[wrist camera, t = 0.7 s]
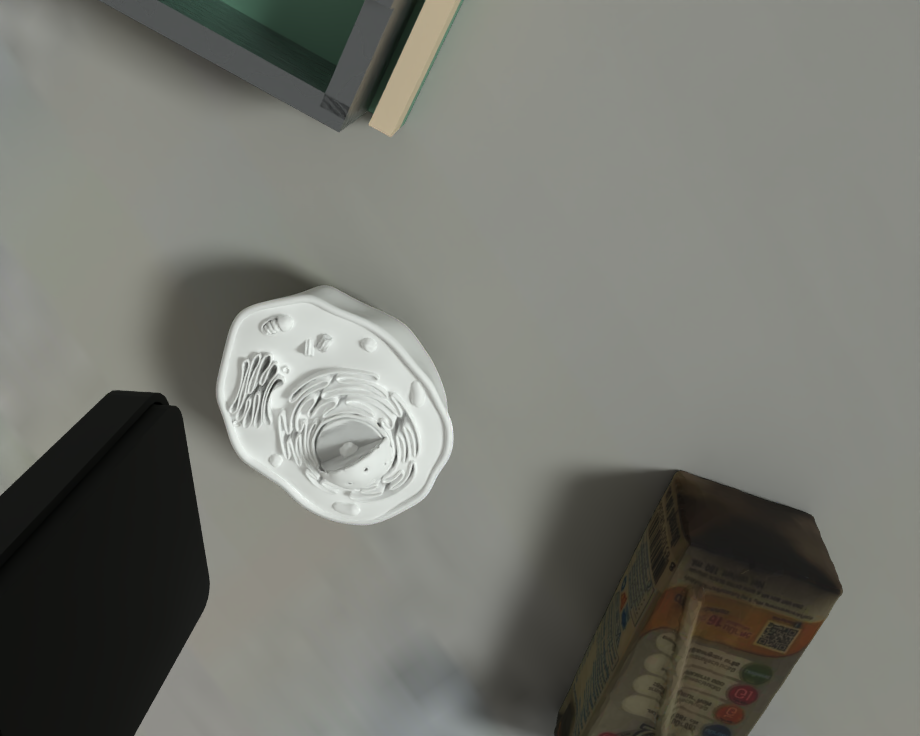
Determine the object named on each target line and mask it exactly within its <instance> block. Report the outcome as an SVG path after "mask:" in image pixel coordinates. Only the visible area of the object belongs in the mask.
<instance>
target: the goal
mask: <svg viewBox="0 0 920 736" xmlns="http://www.w3.org/2000/svg"><path fill="white" fill-rule="evenodd" d="M99 1H101V2H103V3H105V4H107V5H108V6H110V7H112V8H114V9H116V10H118V11H119V12H121V13H123V14H125V15H127V16H128V17H130V18H132V19H134V20H136V21H138V22H139V23H141V24H143V25H145V26H147V27H148V28H150V29H152V30H154V31H156V32H158V33H159V34H161V35H163V36H165V37H167V38H168V39H170V40H172V41H174V42H176V43H178V44H179V45H181V46H183V47H185V48H187V49H188V50H190V51H192V52H194V53H196V54H198V55H199V56H201V57H203V58H205V59H207V60H208V61H210V62H212V63H214V64H216V65H218V66H219V67H221V68H223V69H225V70H227V71H228V72H230V73H232V74H234V75H236V76H238V77H239V78H241V79H243V80H245V81H247V82H248V83H250V84H252V85H254V86H256V87H258V88H259V89H261V90H263V91H265V92H267V93H268V94H270V95H272V96H274V97H276V98H278V99H279V100H281V101H283V102H285V103H287V104H288V105H290V106H292V107H294V108H296V109H298V110H299V111H301V112H303V113H305V114H307V115H308V116H310V117H312V118H314V119H316V120H318V121H319V122H321V123H323V124H325V125H327V126H328V127H330V128H332V129H334V130H336V131H338V132H340V131H341V130H343V129H344V128H345V127H347V126H348V125H349V124H351V123H352V122H353V121H355V120H356V119H357V118H359V117H360V116H361V115H363V114H364V113H365V112H367V111H368V109H369V107H370V105H371V102H372V100H373V98H374V96H375V94H376V91H377V89H378V87H379V85H380V83H381V80H382V78H383V76H384V74H385V72H386V69H387V67H388V65H389V63H390V61H391V59H392V56H393V54H394V52H395V50H396V48H397V45H398V43H399V41H400V39H401V37H402V34H403V32H404V30H405V28H406V26H407V23H408V21H409V19H410V17H411V15H412V12H413V10H414V8H415V6H416V4H417V1H418V0H365V1H364V3H363V6H362V8H361V10H360V13H359V15H358V17H357V20H356V22H355V25H354V27H353V29H352V32H351V34H350V36H349V39H348V41H347V43H346V46H345V48H344V50H343V53H342V55H341V57H340V60H339V62H338V64H337V66H336V65H335V64H333V63H331V62H329V61H327V60H326V59H324V58H322V57H320V56H318V55H317V54H315V53H313V52H311V51H310V50H308V49H306V48H304V47H302V46H301V45H299V44H297V43H295V42H293V41H292V40H290V39H288V38H286V37H285V36H283V35H281V34H279V33H277V32H276V31H274V30H272V29H270V28H268V27H267V26H265V25H263V24H261V23H260V22H258V21H256V20H254V19H252V18H251V17H249V16H247V15H245V14H243V13H242V12H240V11H238V10H236V9H235V8H233V7H231V6H229V5H227V4H226V3H224V2H222V1H220V0H99Z"/></svg>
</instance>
